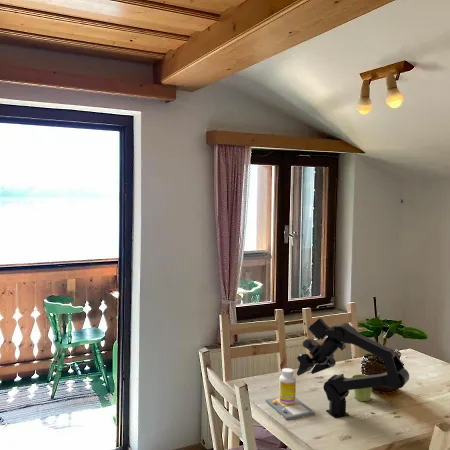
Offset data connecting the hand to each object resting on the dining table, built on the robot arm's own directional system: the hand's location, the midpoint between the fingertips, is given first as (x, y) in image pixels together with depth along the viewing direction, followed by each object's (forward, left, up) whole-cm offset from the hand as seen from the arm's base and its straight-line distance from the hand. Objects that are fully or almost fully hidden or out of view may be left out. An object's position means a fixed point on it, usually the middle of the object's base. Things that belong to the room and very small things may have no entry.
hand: (304, 373), depth 200 cm
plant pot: (-4, -26, -13) cm, 29 cm away
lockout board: (-1, +7, -13) cm, 15 cm away
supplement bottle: (+3, +6, -12) cm, 14 cm away
